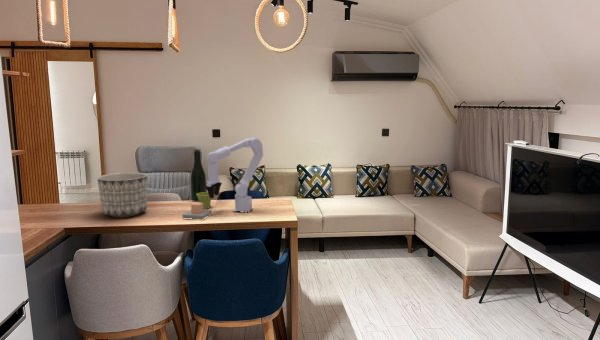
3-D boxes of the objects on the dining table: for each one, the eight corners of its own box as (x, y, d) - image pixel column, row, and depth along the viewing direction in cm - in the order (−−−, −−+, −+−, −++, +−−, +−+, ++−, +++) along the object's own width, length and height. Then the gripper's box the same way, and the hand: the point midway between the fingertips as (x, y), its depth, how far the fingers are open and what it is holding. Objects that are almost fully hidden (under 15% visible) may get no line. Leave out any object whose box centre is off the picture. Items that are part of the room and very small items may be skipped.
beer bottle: (188, 201, 281) (186, 150, 276) (193, 198, 291) (190, 148, 286) (205, 201, 281) (203, 150, 276) (208, 198, 291) (207, 148, 286)
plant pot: (194, 209, 262) (193, 194, 261) (202, 205, 271) (201, 191, 270) (208, 210, 260) (207, 195, 258) (215, 206, 268) (215, 192, 267)
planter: (101, 210, 259) (98, 174, 255) (148, 206, 268) (146, 171, 264) (98, 222, 235) (95, 181, 231) (150, 217, 244) (148, 178, 240)
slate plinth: (211, 215, 250) (211, 210, 250) (203, 221, 238) (203, 215, 238) (192, 214, 252) (191, 209, 252) (182, 220, 241) (182, 214, 240)
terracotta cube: (203, 211, 247) (203, 202, 246) (200, 213, 242) (199, 204, 241) (195, 211, 248) (194, 202, 247) (191, 213, 243) (191, 204, 242)
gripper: (211, 171, 259) (212, 193, 261) (201, 175, 245) (202, 199, 247) (222, 171, 257) (223, 194, 260) (213, 175, 243) (214, 199, 245)
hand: (214, 196), depth 253 cm, fingers open, 7 cm apart
